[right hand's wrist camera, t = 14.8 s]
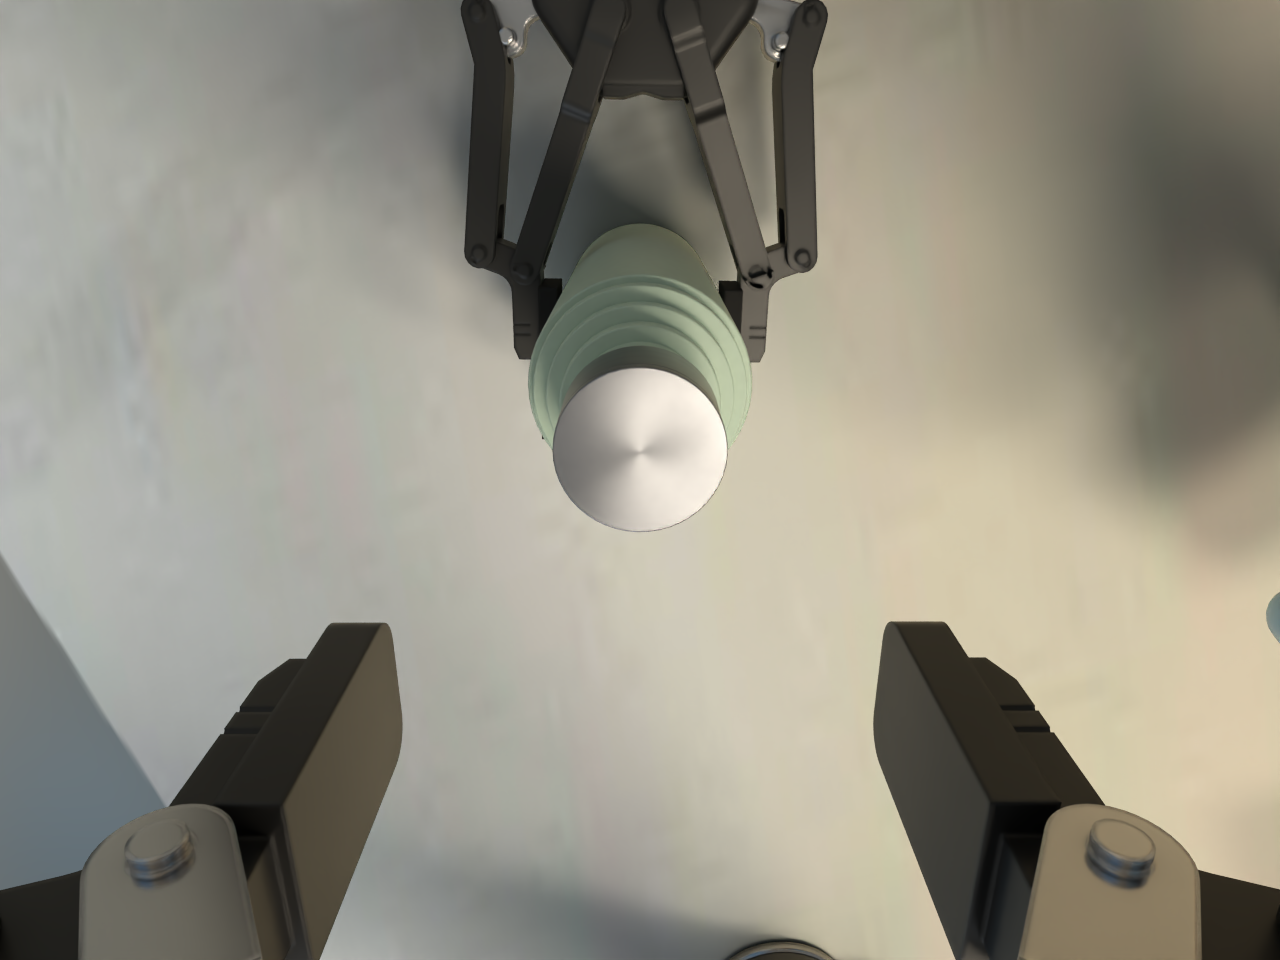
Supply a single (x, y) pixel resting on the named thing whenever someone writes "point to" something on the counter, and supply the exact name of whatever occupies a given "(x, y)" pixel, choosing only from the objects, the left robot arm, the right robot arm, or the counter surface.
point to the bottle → (640, 321)
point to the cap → (640, 440)
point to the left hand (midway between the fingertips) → (638, 430)
